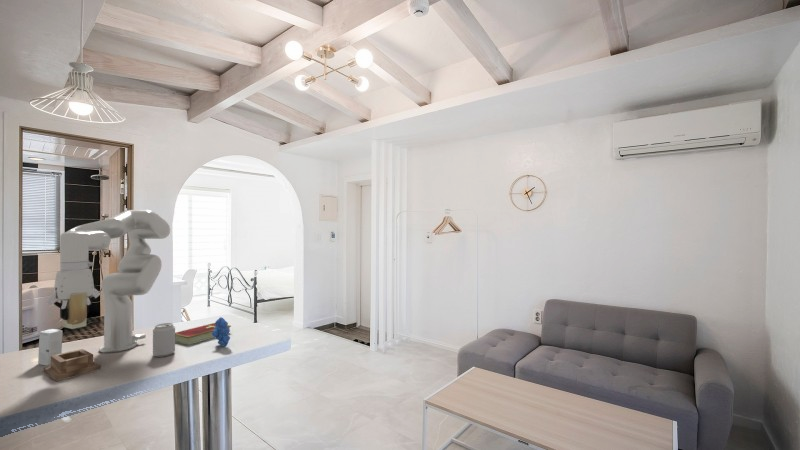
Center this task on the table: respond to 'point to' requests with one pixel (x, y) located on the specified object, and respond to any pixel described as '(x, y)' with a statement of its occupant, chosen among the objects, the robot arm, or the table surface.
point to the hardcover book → (196, 334)
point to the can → (163, 339)
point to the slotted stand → (71, 364)
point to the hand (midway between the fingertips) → (74, 317)
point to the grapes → (221, 332)
